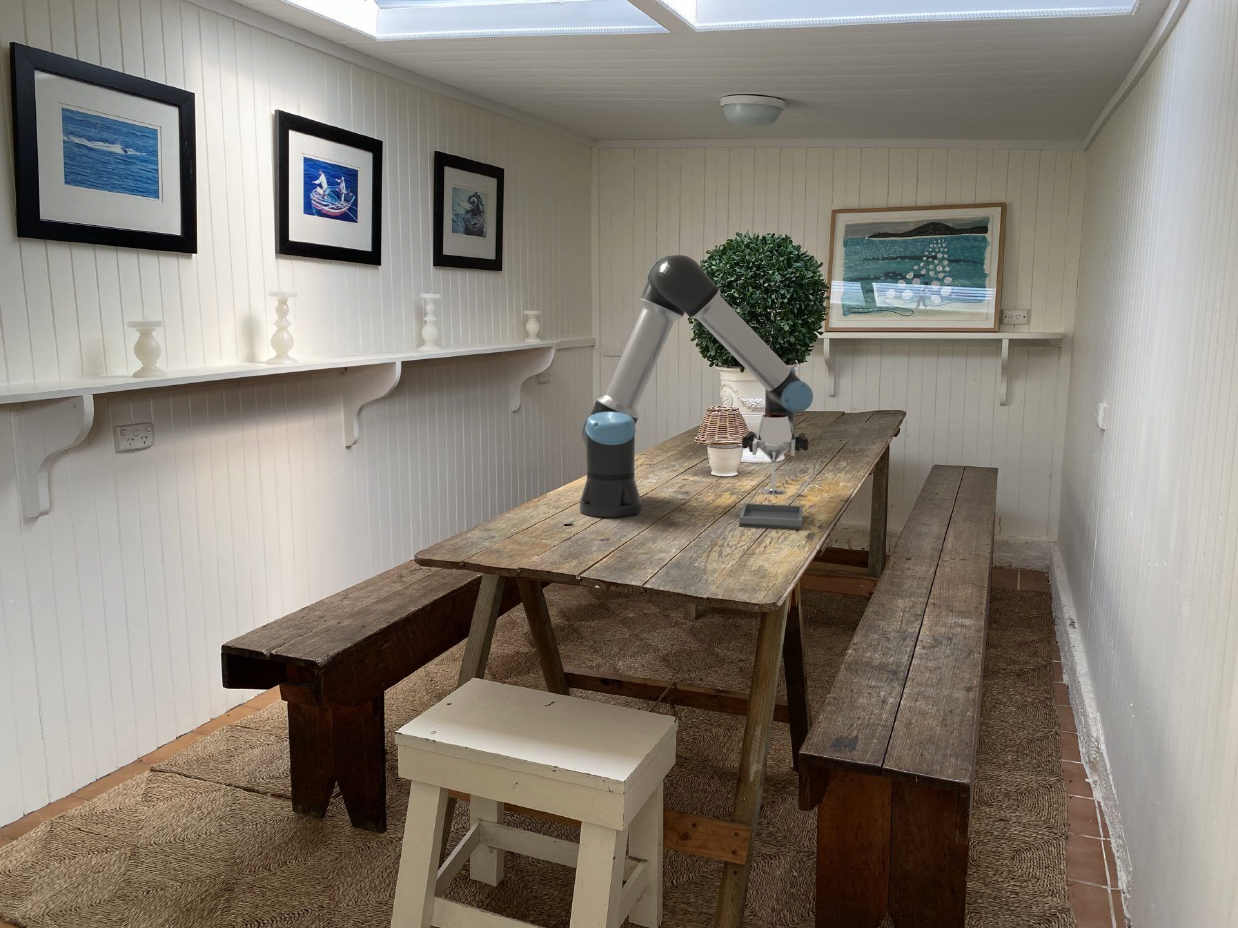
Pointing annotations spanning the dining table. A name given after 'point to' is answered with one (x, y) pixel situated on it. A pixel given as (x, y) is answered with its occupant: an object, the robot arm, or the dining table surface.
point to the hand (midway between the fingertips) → (773, 449)
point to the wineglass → (774, 443)
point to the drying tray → (771, 516)
